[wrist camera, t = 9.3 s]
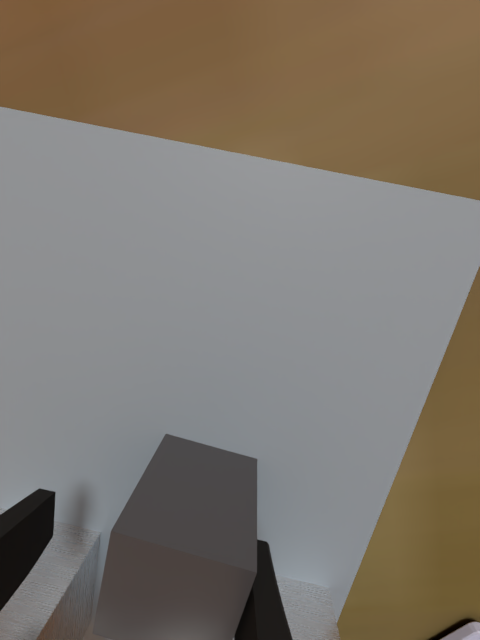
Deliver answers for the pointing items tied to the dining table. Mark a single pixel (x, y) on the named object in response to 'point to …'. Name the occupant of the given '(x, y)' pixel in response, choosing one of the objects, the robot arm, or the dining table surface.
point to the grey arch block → (79, 583)
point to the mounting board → (218, 328)
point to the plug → (182, 547)
